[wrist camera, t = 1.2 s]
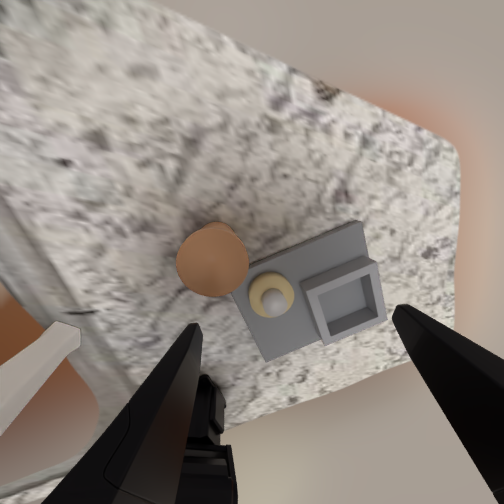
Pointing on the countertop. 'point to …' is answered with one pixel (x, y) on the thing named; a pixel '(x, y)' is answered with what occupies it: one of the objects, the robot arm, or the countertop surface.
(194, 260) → the tan flared peg
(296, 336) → the housing
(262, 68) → the countertop surface
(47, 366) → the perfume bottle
